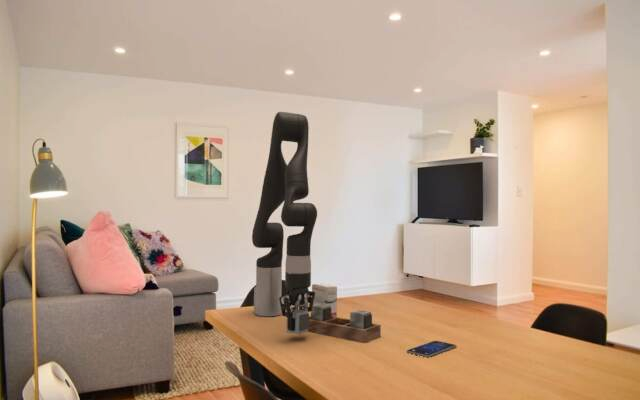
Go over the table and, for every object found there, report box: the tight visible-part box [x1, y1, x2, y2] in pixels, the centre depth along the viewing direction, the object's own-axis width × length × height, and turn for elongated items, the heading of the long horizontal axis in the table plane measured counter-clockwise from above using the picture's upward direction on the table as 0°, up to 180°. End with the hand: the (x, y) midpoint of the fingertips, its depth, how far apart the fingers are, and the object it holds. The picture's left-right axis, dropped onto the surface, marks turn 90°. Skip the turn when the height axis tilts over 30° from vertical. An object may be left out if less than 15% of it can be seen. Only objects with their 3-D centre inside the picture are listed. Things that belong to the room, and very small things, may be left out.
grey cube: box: [285, 308, 310, 335], centre depth 137 cm, size 5×4×6 cm
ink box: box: [311, 283, 338, 317], centre depth 164 cm, size 8×5×12 cm, turn 39°
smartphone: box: [406, 340, 457, 359], centre depth 128 cm, size 7×1×15 cm
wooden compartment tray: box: [308, 304, 382, 344], centre depth 145 cm, size 24×9×8 cm, turn 53°
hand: (297, 328), depth 138 cm, fingers closed on grey cube, 4 cm apart
